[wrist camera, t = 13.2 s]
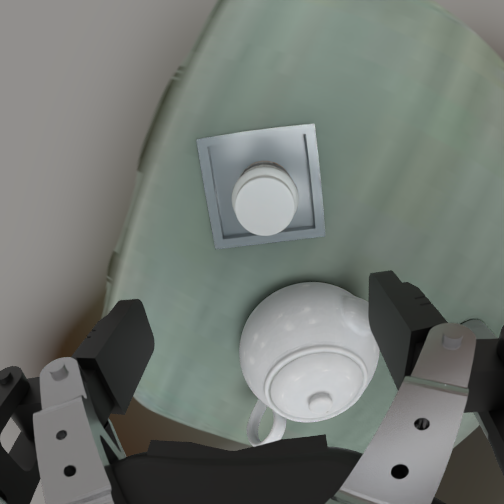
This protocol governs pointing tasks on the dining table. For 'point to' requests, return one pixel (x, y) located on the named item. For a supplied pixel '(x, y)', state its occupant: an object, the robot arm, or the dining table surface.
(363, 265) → the dining table surface
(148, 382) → the dining table surface
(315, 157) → the dish
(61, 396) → the robot arm
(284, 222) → the pill bottle
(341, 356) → the teapot
